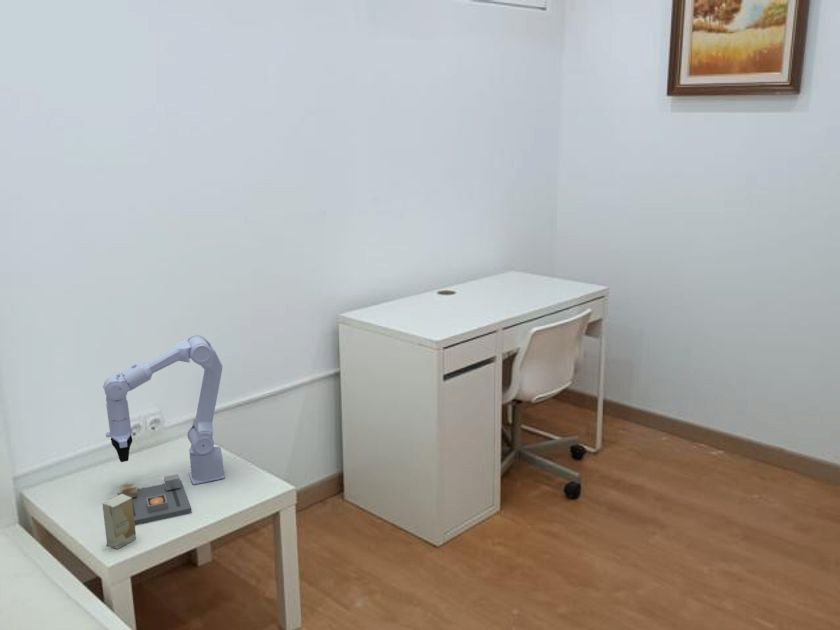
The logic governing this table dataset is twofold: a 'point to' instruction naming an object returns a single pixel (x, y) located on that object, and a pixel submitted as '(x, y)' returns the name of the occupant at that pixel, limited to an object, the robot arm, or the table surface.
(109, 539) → the skincare box
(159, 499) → the push button
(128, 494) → the birch slider
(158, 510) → the control panel
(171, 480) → the steel slider
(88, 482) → the table surface
